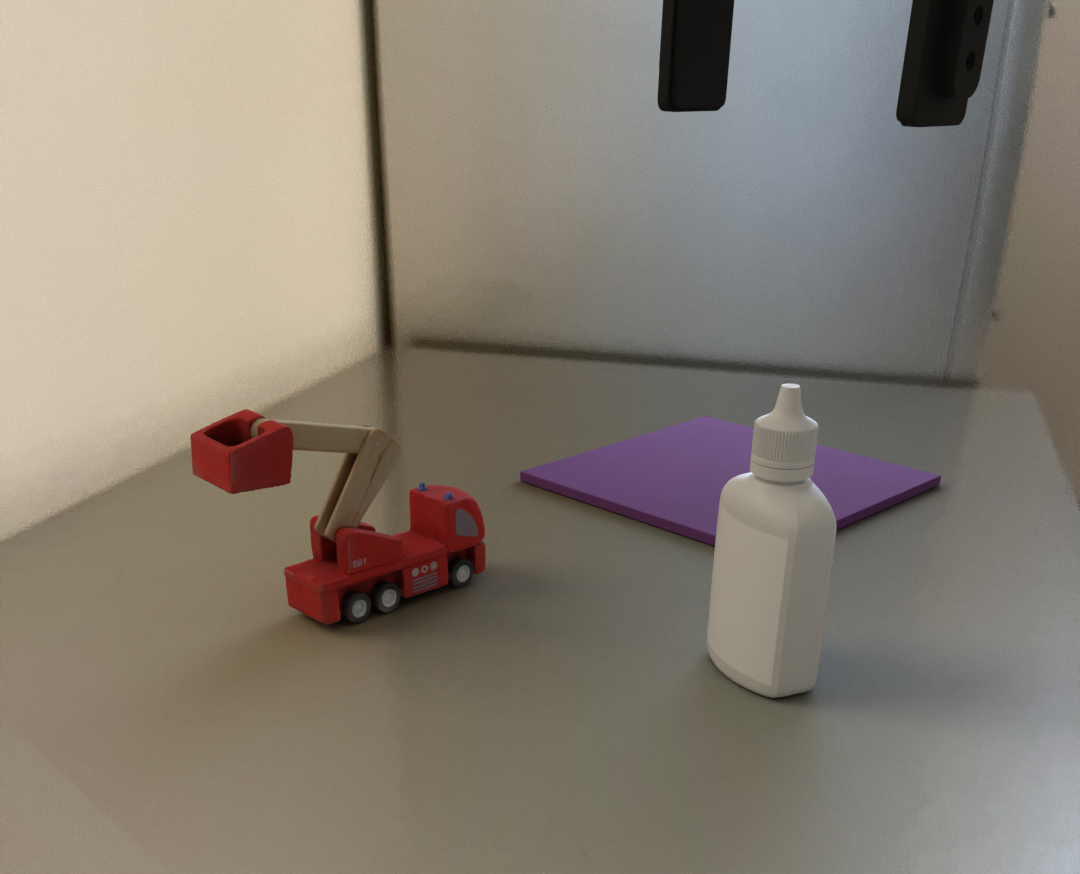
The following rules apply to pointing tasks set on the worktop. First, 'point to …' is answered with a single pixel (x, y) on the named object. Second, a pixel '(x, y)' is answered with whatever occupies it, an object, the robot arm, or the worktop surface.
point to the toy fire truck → (348, 514)
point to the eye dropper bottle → (773, 559)
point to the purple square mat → (713, 477)
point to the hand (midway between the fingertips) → (801, 117)
